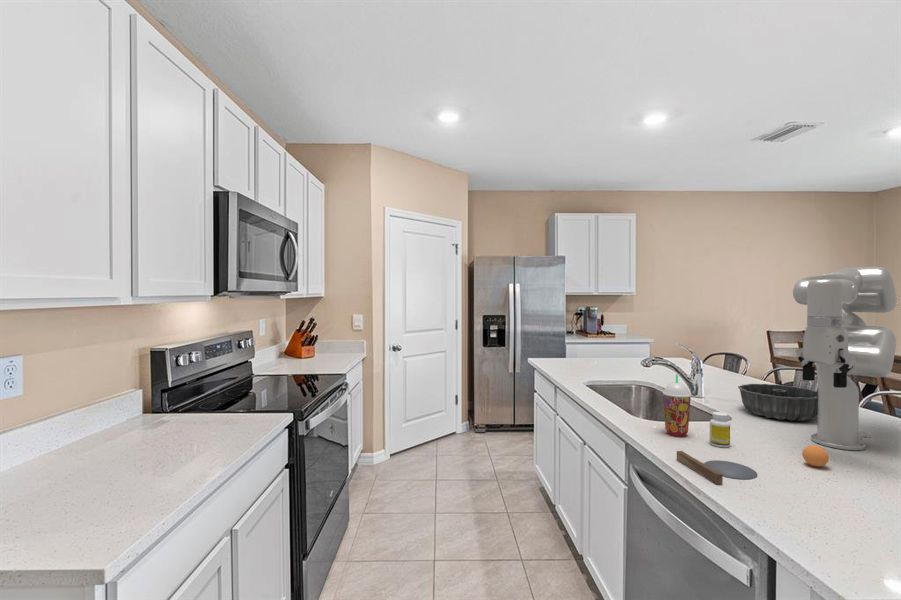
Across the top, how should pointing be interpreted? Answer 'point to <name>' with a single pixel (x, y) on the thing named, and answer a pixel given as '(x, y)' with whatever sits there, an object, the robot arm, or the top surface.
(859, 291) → the robot arm
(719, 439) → the supplement bottle
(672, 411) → the smoothie
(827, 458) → the ball
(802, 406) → the bundt pan
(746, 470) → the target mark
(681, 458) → the rail
